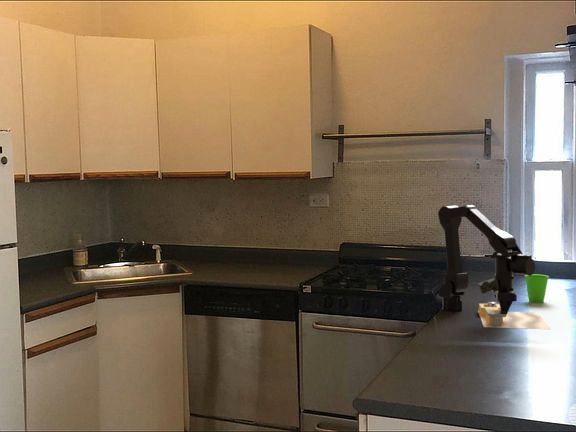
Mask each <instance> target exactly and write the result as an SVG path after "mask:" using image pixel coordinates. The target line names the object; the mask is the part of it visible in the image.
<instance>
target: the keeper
mask: <svg viewBox="0 0 576 432" xmlns="http://www.w3.org/2000/svg"><path fill="white" fill-rule="evenodd" d="M486 312H487V315H488V316H493V326H496V327H501V323H502V317H501V316H507V314H506V312H505V311H500V310H486Z"/></svg>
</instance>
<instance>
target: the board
mask: <svg viewBox="0 0 576 432" xmlns="http://www.w3.org/2000/svg"><path fill="white" fill-rule="evenodd" d="M477 312H478V316H479V317H480V320H481V324H482V326H483V328H499V329H501V328H502V329H525V330H526V329H532V330H536V329H537V330H551V328H550V327H549V324H548V323H547V322H546V321H545V320H544V318H543V317H542V316H541V315H540V313H539V312H536V311H535V312H534V311H533V312H530V311H529V312H526V311H508V313H507V316H506V317H503V324H501V327H496V326H493V324H489V323H488V321H487V319H486V317H485V316H481V315H480V313H479V310H478V311H477Z"/></svg>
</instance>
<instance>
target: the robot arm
mask: <svg viewBox="0 0 576 432" xmlns="http://www.w3.org/2000/svg"><path fill="white" fill-rule="evenodd" d="M437 216H438V219H439V220H438V221H439V224H440V226H441V228H442V229H443V230H444V238H445V249H446V250H445V254H446V262H447V263H446V265H447V271H446V272H445V275H444V282H443V285H442V286H441V287H440V288H439V290H438V296H439V297H441V298H442V311H444V312H450V313H451V312H463V299H461V296H464V295H465V292H466V290H468V286H469V284H470V282H469V273H468V272H464V270H463V268H462V259H461V246H460V237H459V236H460V235H459V228H460V226H461V223H462V219H463V218H464V217H465V218H466V219H467V220H468V221H469V222H470V223H471V224H472V225H473V226H474V227H475V228H476V229H478V230H479V232H480V233H482V234H483V235H484V236H485V237H486V238H487V240H488V243H489V246H491V248H492V249H493V251H494V252H493V253H492V254H491V255H490V256H489V258H490V259H495V273H494V274H493V278H490V279H487V280H483V281H480V282H479V283H477V285H478V287H479V290H480V292H481V294H482V295H483V294H487V292H488V293H489V292H492V293H495V292H496V294H494V295H493V296H494V299H496V301H498V304H499V305H500V309H501V311H505V312H506V314H507V313H508V312H510V311H509V310H510V308H511V306H512V304H513V302H517V301H518V299H517V297H518V295H517V294H516V293H515V292H514V280H515V279H514V278H515V276H514V274H516V275H521V276H525V275H529V276H531V275H532V274H535V271H536V263H535V261H534V259H533V258H532V254H523V252H522V250H521V249H520V247H519V246H518V243H517V239H516V238H515V237H514V236H513V235H511V234H510V233H508V232H507V231H504V230H502V229H500V228H498V227H497V226H496V225H494V223H493V222H491V220H489V219H488V218H487V217H486V216H485V215H484V214H482V212H480V211H479V209H477V207H476V206H475V205H473V204H468V205H467V204H466V205H463V206H458V205H456V204H455V205H443V206H441V207H440V208H439V210H438V211H437ZM503 317H506V316H503Z"/></svg>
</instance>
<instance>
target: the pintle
mask: <svg viewBox="0 0 576 432" xmlns="http://www.w3.org/2000/svg"><path fill="white" fill-rule="evenodd" d="M487 304H488V307H496V304H497V302H496V301H488V302H487Z"/></svg>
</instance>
